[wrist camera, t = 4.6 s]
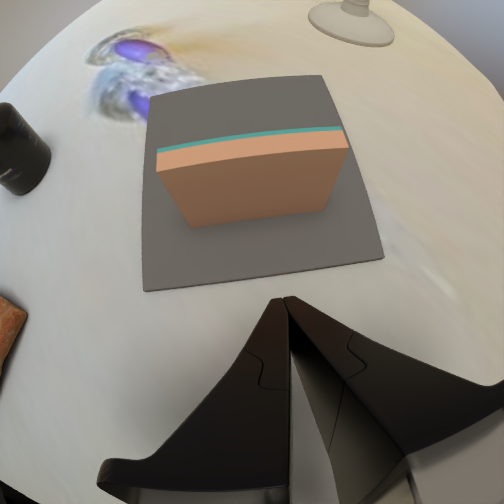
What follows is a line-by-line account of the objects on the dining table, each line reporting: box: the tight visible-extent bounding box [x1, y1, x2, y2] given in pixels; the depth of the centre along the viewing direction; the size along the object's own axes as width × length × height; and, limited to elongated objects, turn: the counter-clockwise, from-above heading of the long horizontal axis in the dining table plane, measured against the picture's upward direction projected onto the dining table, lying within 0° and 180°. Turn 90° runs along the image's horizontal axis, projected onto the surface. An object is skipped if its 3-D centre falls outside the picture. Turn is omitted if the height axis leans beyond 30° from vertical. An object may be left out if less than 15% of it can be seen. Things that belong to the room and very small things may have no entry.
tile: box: [156, 126, 349, 228], centre depth 18 cm, size 2×10×8 cm, turn 97°
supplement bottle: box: [0, 102, 50, 195], centre depth 20 cm, size 7×7×12 cm
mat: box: [142, 75, 385, 292], centre depth 24 cm, size 20×18×1 cm
